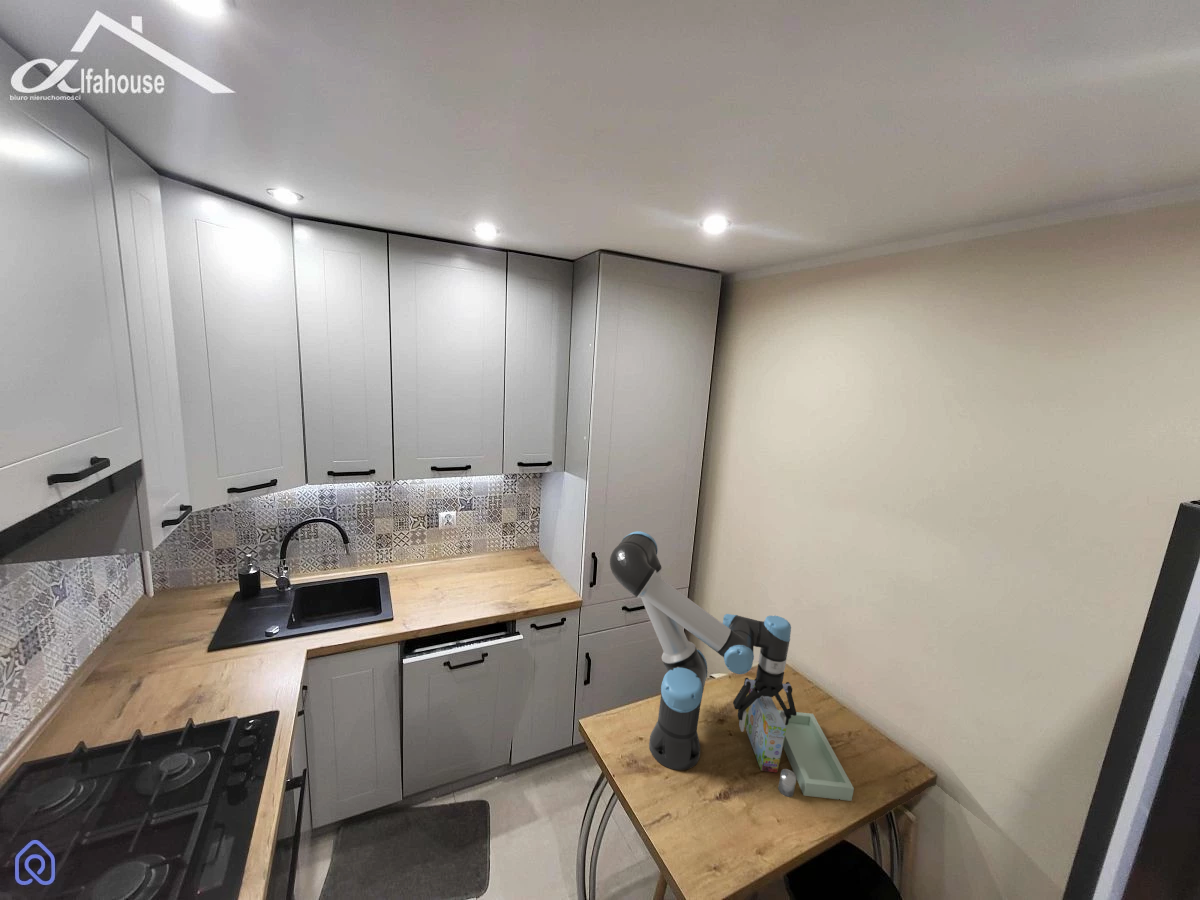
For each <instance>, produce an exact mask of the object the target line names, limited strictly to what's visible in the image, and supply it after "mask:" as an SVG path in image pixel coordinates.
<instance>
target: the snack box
mask: <svg viewBox="0 0 1200 900" xmlns="http://www.w3.org/2000/svg"><path fill="white" fill-rule="evenodd" d="M749 680H753V679H751V678H750V679H749ZM754 687H755V685H753V686H752V688H751V689H750V691H749V693H750V692H751V691H752V690H753V688H754ZM758 692H759V691H758ZM749 693H748V694H749ZM748 694H747V695H748ZM778 710H779V709H778V708H777V706H776V704H775V701H774V700H773V697H769V696H761V697H760V698H757V699H756V700H755V701H754V702H753V703H752V704H751V705H750V706H749V707H748V708H747V709H746V719H745V726H744V730H745V731H746V734H747V737H748V739H749V742H750V744H751V747H752V749H753V753H754V756H755V758H756V761H757V764H758V766H759V769H760V771H761V772H762V771H763V772H770V773H778V771H779V767H780V766H779V765H780V762H781V756H782V753H783V752H782V751H783V749H784V748H783V743H784V738H785V733H786V726H785V724H784V722H783V720H782V718H781V716H780V714H779V712H778Z"/></svg>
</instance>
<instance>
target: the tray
mask: <svg viewBox="0 0 1200 900" xmlns="http://www.w3.org/2000/svg"><path fill="white" fill-rule="evenodd" d="M777 710H778V712H779V714H781V711H783V709H782V710H781V709H777ZM796 713H797V715H796V716H793V715H791V718H790V719H789V722H788V725H785V726H786V733H785V738H784V743H783V748H782V749H783V750H784V752H785V754H786V756H787V759H788V762H789V764H790V766H791V769H792V772H794V774H795V775H796V782H797V783H798V785H799V788H800V791H801V793H802V795H803V796H807V797H813V798H814V797H815V798H824V799H831V800H832V799H833V800H839V799H840V801H841V800H842V801H849V802H850V801H851V802H852V799H853V795H854V790H855V788H854V785H853V784H852V783H851V780H850V779H849V776H848V775H847V773H846V771H845V770H844V768H843V766H842V764H841V763H840V760H839V758H838V757H837V755H836V753H835V751H834V749H833V748H832V746H831V744H830V742H829V739H828V738H827V736H826V734H825V733H824V732H823V729H822V728H821V726H820V723H818V720H817V718H816V716H815V715H814V713H811V712H810V713H808V712H799V711H796Z"/></svg>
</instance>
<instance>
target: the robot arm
mask: <svg viewBox="0 0 1200 900" xmlns="http://www.w3.org/2000/svg"><path fill="white" fill-rule="evenodd" d="M658 552H659V551H658V544H657V542H656V540H655V539H654V538H653V536H651V535H650V534H649V533H646V532H644V531H640V530H639V531H633V532H630V533H629V534H627V535H625V536H624V537H623V538H622V540H621V541H620V542H619V543H618V544H617V546H616V547H615V548H614V549H613V550H612V552H611V554H610V557H609V568H610V571H611V573H612V575H613V577H614V578H615V579H616V580H617V582H618V583H619V584H620V585H622V587H623V588H624V589H626V591H628V592H629V593H630V594H632V595H633V596H635V598H638V599H639V598H640V600H641V601H642V604H643V606H644V609H645V610H646V613H647V615H648V618H649V620H650V622H651V625H652V627H653V629H654V632H655V635H656V637H657V639H658V642H659V644H660V645H661V648H662V651H663V652H662V655H661V660H662V664H663V665H664V668H665V670H666V673H665V674H664V676H663V679H662V682H661V685H660V691H661V693H660V702H659V707H658V708H659V709H658V718H657V721H656V724H655V725H654V727H653V729H652V731H651V732H650V736H649V743H648V747H649V748H648V749H649V750H650V753H651V756H653V758H654V759H655V760H656V761H657V762H658V763H659V764H661V765H662V766H664V767H666V768H669V769H671V770H676V771H684V770H689V769H691V768H693V767H695V766H696V764H698V762H699V760H700V756H701V743H700V738H699V735H698V725H699V718H700V712H701V705H702V700H703V693H704V691H705V689H704V688H705V685H706V680H707V677H708V662H707V659H706V657H705V655H704V653H703V652H702V651H700V649H697V647H696V644H695V643H694V642H692V641H689V640H688V637H687V636H686V633H685V630H687V631H688V632H689V633H691V635H693V636H694V637H696V638H698V640H700V641H701V642H703V643H704V644H705V645H707V647H709V648H711V649H712V650H713V651H715V652H716V653H717V654H718V655H720V656H721V657H722V658H723V660H724V661H723V662H724V665H725V666H726V668H727V669H728V670H729V671H730V672H732V673H734V674H736V675H744V674H747V673H748V672H750V671H751V669H752V667H753V663H754V659H755V654H754V647H755V648H760V651H759V657H758V661H757V662H758V664H757V668H756V676H755V678H754V679H752V680H749V677H745V678H744V682H743V685H742V686H741V688H740V690H739V692H738V693H737V695H736V696H735V698H734V699H733V702H732V705H733V707H734V710H737V718H738V722H739V723H738V725H739V730H740V732H741V733H742V732H744V730H745V719H746V709H747V708H748V707H749V706H750V705H751V704H752V703H753V702H754V701H755V700H756V699H757V698H760V697H761V696H769V697H771V698H774V697H775V698H776V700H777V702H778V704H779V706H780V707H781V708H782V710H783V711H781V714H780V716H781V718H782V720H783V722H784V724H785V725H788V722H789V719H790V718H791V715H793V716H796V715H797V713H796V712H797V710H796V706H795V701H794V697H793V687H792V685H791V682H789V681H785V683H784V682H783V681H784V676H785V670H786V663H787V658H788V651H789V647H790V641H791V633H792V625H791V623H790V622H789V621H788V620H787V619H786V618H784V617H782V616H778V615H768V616H766V617H765V619H764V621H762V620H756V619H753V618H749V617H746V616H745V617H744V616H741V615H738V614H731V613H725V614H724V615H723V620H722V622H721V621H720V620H718V619H717V618H716V617H714V616H713V615H712V614H710V613H709V612H708V611H706V610H705V609H704V608H702V607H701V606H700V605H698V604H697V603H696V602H694V601H692V599H690V598H688V597H687V595H685V594H683V593H682V592H680V590H677V588H675V587H673V586H672V585H671V584H670V583H668V582H667V581H665V579H662V577H661V572H662V569H663V567H662V565H661V563H660V559H659V558H658ZM684 629H685V630H684ZM753 685H755V687H754V688H753V690H752V691H751V692H750V693H749V691H750V689H751V688H752V686H753ZM782 690H784V692H785V694H786V698H787V702H788V707H789V708H788V707H787V705H786V704H785V702H784V699H783V698H782V697H781V695H780V692H781V691H782ZM758 691H759V692H758ZM748 693H749V694H748ZM747 694H748V695H747Z"/></svg>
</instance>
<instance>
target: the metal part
mask: <svg viewBox="0 0 1200 900" xmlns="http://www.w3.org/2000/svg"><path fill="white" fill-rule="evenodd" d="M796 784H797V779H796V775H795V774H794V771H793V770H791V769H788V768H783V769H781V771H780V775H779V781H778V786H777V789H778V791H779V792H780V794H781V795H783V797H787V798H791V797H792V798H793V796H794V794H795V788H796Z"/></svg>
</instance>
